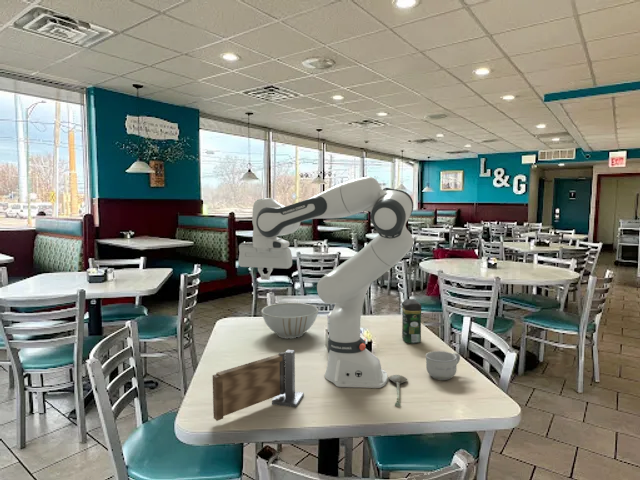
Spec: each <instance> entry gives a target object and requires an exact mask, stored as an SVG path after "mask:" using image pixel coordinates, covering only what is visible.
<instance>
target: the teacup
mask: <svg viewBox="0 0 640 480" xmlns="http://www.w3.org/2000/svg"><path fill="white" fill-rule="evenodd" d="M460 360H461V356H460V354H459V353H457V352H453V353H452V352H449V351H445V350H437V351H436V350H435V351H430V352H426V354H425V364H426V365H425V366H426V371H427V374H428V375H430V376H431V378H433V379H435V380H439V381H446V380H451V379H452V377H455V375H456V373H457V366H458V364H459V363H460Z"/></svg>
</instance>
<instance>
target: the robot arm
mask: <svg viewBox="0 0 640 480" xmlns="http://www.w3.org/2000/svg"><path fill="white" fill-rule="evenodd" d="M413 210H414V201H413V197H412V196H411V195H410V194H409V193H408V192H406V191H405V190H402V189H395V188H391V187H385V188H382V187H381V184H380V183H379V181H378V180H377V179H376V178H374V177H371V176H365V177H359V178H355V179H350V180H347V181H345V182H342V183H339V184H336V185H334V186H331V187H330V188H328V189H326V190H324V191H322V192H320V193H318V194H316V195H314V196H311V197H309V198H307V199H304V200H301V201H299V202H296V203H295V202H294V203H292V204H289V205H283V204H281V203H280V202H278V201H277V200H276V199H275V198H273V197H266V198H259V199H257V200H256V201H254V203H253V205H252V213H251V214H252V216H251V217H252V226H253V231H252V241H247V242H246V241H243V242H241V243H239V245H238V251H239V253H238V254H239V255H238V265H239V266H240V268H257V272H258V273H259V275H260V280H263V281H267V280H268V281H270V280H271V273H272V272H273V270H274V269H286V270H287V269H290V268H291V267H292V266H293V255H292V251H291V249H290V248H289V247H290V241H288V240H287V239H286V240H285V239H283V238H280V237H278V236H283V235H284V236H285V235H290V234H293V233H295V232H297V231H298V230H299V229H300V227H301V222H304V221H309V220H315V219H318V220H319V219H340V218H341V219H342V218H346V217H350V216H354V215H357V214H360V213H362V212H370V221H371V223H372V226H373V227H374V228H375V230H376V231H377V233H378V235H377V236H376V237H374V238H373V239H371V240H370V241H369V242H368V243H367V244H366V245H365V246H364V247H363V248H361V250H359V251H358V252H356V254H354V255H353V256H351V257H349V258H348V259H346V260H345V261H344V262H342V263H340V265H338V266H336V267H335V268H334V269H333V270H331V271H330V272H327V274H325V275H324V276H322V277H321V278H320V279H319V280H318V282H317V285H316V291H317V295H318V297H319V299H320V300H321V301H322V302H324V303H325V304H328V305H334V307H333V309H332V310H331V311H330V312H331V314H330V318H329V338H328V337H327V353H328V358H327V363H326V364H327V365H326V370H325V372H324V377H325V379H326V380H327V381H329V382H331V383H333V384H334V385H335V386H336V387H337V388H365V389H366V388H367V389H371V388H372V389H379V388H382V387H384V386H385V385H386V384H387V383H388V379H389V377H388V371H386V370H384V369H382V364H381V361H380V359H379V358H378V356H376V355H375V354H374V353H372V352H371V351H370V350H368V349H367V348H366V345H367V341H366V338H364V339H363V338H362V337H361V319H362V311H363V308H364V307H363V306H364V302H365V299H366V295H367V293H368V290H369V288H370V287H371V284H372V283H373V282H375V281H376V280H378V279H379V278H380V277H382V276H383V275H384V274H385V273H386V272H388V271H389V270H391V269H392V268H393V267H394V266H395V265H396V264H398V263H399V262H400V261H401V260H402V259H403V258H404V257H405V256H406V255H407V254H408V253H409V252H410V250H411V249H412V247H413V245H414V238H413V235H412V234H411V232H410V231H409V230H408V228H407V226H406V225H407V222H408V220H409V218H410V217H411V215H412V213H413ZM264 268H266V271H267V273H264V271H263V270H264Z"/></svg>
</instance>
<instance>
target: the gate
mask: <svg viewBox="0 0 640 480" xmlns="http://www.w3.org/2000/svg"><path fill="white" fill-rule="evenodd" d="M215 373H216V374H213V375H212V401H213V402H212V403H213V405H212V406H213V409H212V410H213V419H214V420H215V421H216V422H217V421H221V420H224V417H225V416H228V415H230V414H233V413H235V412H238V411H241V410H243V409H246V408H249V407H252V406H254V405H258V404H259V403H263V402H265V401H267V400H269V399H274V398H275V397H276V396H278V395H280V394H285V352H283V351H282V352H278V354H275V355H272V356H268V357H265V358H261V359H258V360H254V361H252V362H248V363H245V364H241V365H238V366H235V367H231V368H228V369H224V370H220V371H218V372H215Z"/></svg>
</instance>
